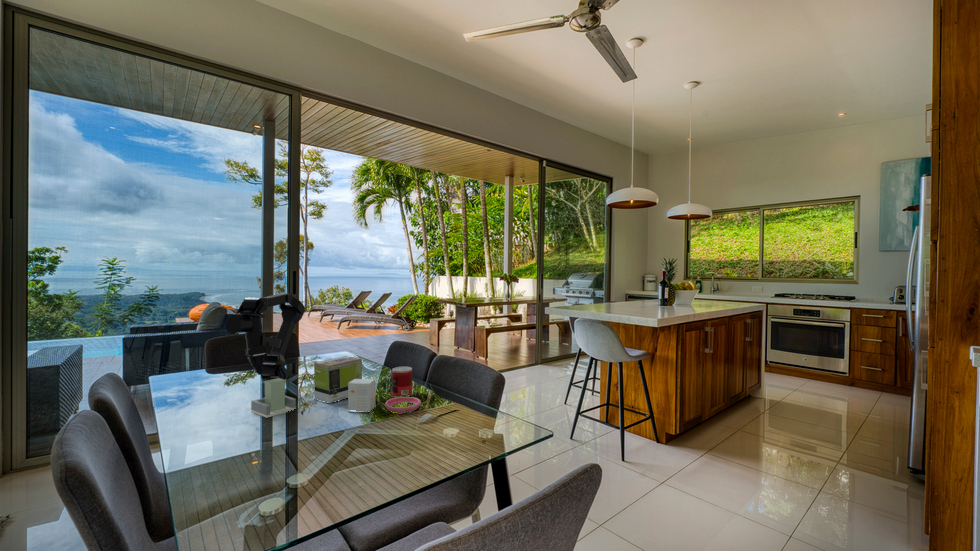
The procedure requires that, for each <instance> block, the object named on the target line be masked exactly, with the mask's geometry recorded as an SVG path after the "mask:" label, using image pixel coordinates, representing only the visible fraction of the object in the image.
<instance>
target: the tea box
mask: <svg viewBox="0 0 980 551" xmlns="http://www.w3.org/2000/svg"><path fill="white" fill-rule="evenodd" d="M313 366H314V367H313V370H314V374H313V375H314V380H313V381H314V383H313V384H314V400H316V399H318V400H321V401H325V402H328V403H331V402H335V401H338V400H342V399H345V398H348V383H349V382H351V381H352V380H354V379H363V370H362V368H363V367H362V366H363V364H362V358H359V357H354V356H353V357H352V356H348V355H345V356H340V357H335V358H330V359H325V360H321V361H315V362H314V364H313ZM318 400H317V401H318ZM345 400H346V399H345ZM321 401H320V402H321ZM342 401H343V400H342ZM338 402H339V401H338ZM335 403H336V402H335ZM331 404H332V403H331Z"/></svg>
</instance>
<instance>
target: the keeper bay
mask: <svg viewBox="0 0 980 551" xmlns="http://www.w3.org/2000/svg"><path fill="white" fill-rule="evenodd" d="M250 405H251V406H250V408H251V409H250V410H251V411H250V412H251V413H253V414H256V415H259V416H261V417H263V418H270V417H275V416H278V415H282V414H284V413H285V414H286V413H289V412H292V411H295V410H294V409H297V408H296V407H297V399H296V398H294V397H291V396H288V395H285V408H283V409H279V410H275V411H272V412H270V405H267V404H265V397H263V398H262V397H261V398H258V399H254V400H251V403H250ZM291 410H292V411H291ZM288 411H289V412H288Z"/></svg>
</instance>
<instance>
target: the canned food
mask: <svg viewBox="0 0 980 551" xmlns="http://www.w3.org/2000/svg"><path fill="white" fill-rule="evenodd" d="M410 394H412V395H413V367H410V366H396V367H394V368H392V369H391V396H392V395H393V396H406V395H410ZM393 396H392V397H393Z"/></svg>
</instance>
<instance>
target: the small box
mask: <svg viewBox="0 0 980 551" xmlns="http://www.w3.org/2000/svg"><path fill="white" fill-rule="evenodd" d="M347 402H348V410H356V411H371V410H372V409H373V408H374V407H375V406H376V379H371V378H370V379H367V378H364V379H363V378H362V379H354V380H352V381H351V382H349V383H348V400H347ZM372 411H373V410H372ZM372 411H371V412H372Z"/></svg>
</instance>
